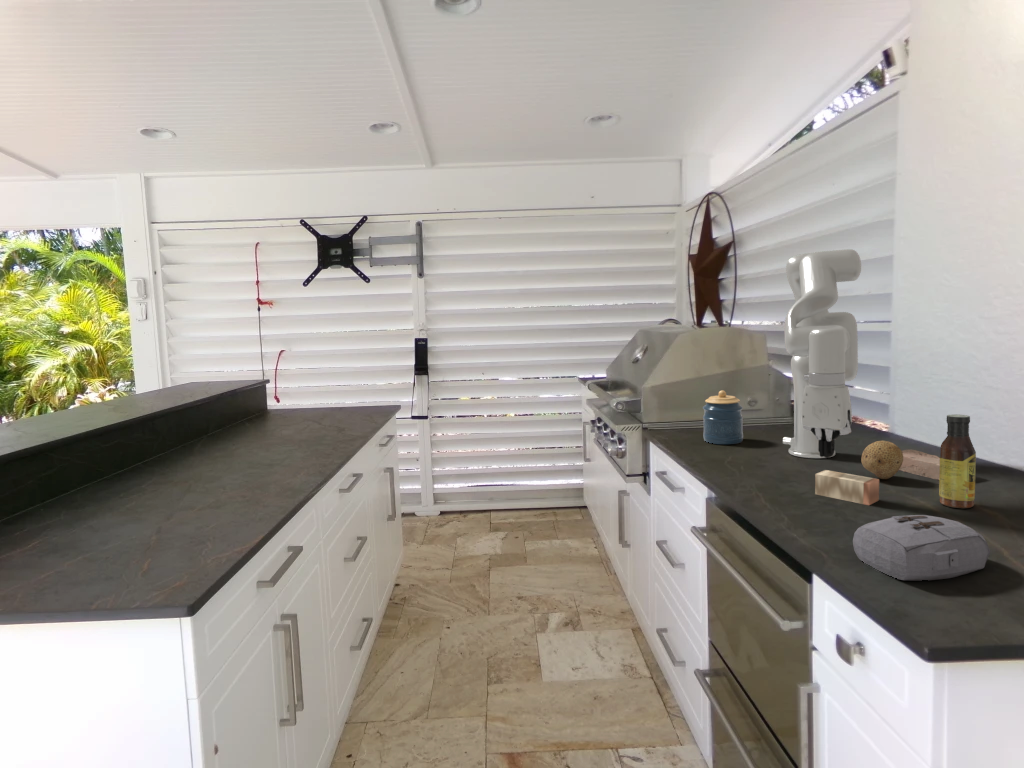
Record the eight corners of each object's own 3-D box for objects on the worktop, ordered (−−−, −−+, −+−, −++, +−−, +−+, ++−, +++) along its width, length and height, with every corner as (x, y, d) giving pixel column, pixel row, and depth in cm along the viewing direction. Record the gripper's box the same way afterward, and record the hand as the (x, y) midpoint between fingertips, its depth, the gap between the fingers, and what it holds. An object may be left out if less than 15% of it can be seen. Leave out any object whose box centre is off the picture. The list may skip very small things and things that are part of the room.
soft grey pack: (912, 592, 92) (1014, 574, 96) (913, 541, 91) (1016, 525, 95) (840, 555, 106) (931, 540, 110) (840, 511, 106) (932, 498, 109)
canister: (699, 443, 199) (698, 392, 197) (708, 436, 210) (707, 387, 208) (739, 446, 192) (738, 393, 190) (746, 438, 203) (746, 388, 201)
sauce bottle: (976, 511, 123) (979, 419, 121) (940, 507, 127) (942, 417, 125) (972, 502, 129) (975, 413, 127) (937, 498, 132) (939, 412, 130)
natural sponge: (880, 485, 144) (880, 446, 143) (852, 476, 152) (852, 439, 151) (911, 481, 146) (912, 442, 144) (882, 472, 154) (882, 435, 153)
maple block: (815, 474, 140) (869, 483, 130) (825, 469, 143) (879, 479, 133) (815, 494, 140) (869, 505, 131) (825, 489, 143) (878, 500, 134)
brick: (973, 479, 145) (974, 461, 145) (949, 484, 143) (949, 465, 142) (910, 465, 161) (911, 448, 161) (887, 469, 159) (887, 452, 158)
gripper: (787, 380, 142) (787, 454, 144) (852, 383, 129) (851, 464, 131) (803, 376, 146) (803, 448, 148) (868, 380, 134) (867, 458, 136)
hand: (826, 455), depth 140 cm, fingers closed
